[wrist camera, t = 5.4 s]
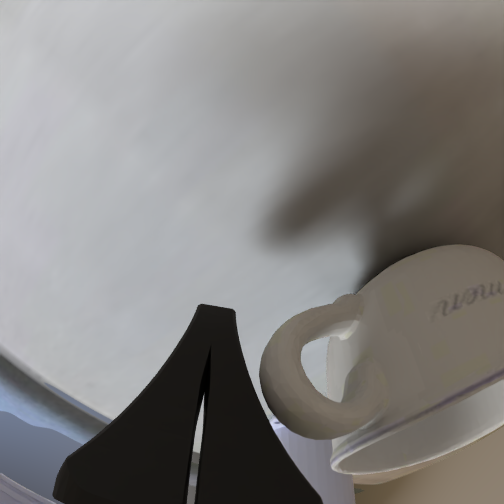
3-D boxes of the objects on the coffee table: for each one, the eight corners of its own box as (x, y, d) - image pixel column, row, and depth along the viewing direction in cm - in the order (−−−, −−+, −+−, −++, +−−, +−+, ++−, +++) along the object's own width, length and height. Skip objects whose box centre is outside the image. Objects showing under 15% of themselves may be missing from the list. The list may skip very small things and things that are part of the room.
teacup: (507, 281, 13) (568, 378, 7) (387, 379, 18) (410, 480, 12) (378, 110, 9) (557, 212, 2) (214, 300, 14) (189, 466, 7)
